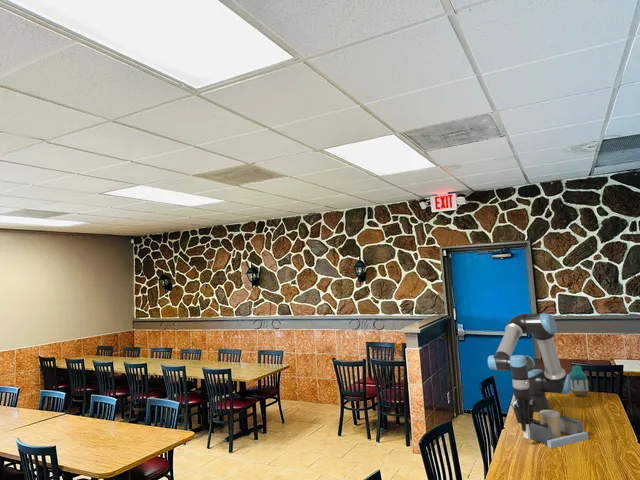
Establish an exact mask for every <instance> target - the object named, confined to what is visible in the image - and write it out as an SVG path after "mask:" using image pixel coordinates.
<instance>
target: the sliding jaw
mask: <svg viewBox="0 0 640 480" xmlns="http://www.w3.org/2000/svg"><path fill="white" fill-rule="evenodd" d="M530 423H532V424H530V439H532V440H534V441H537V442H539V443H541V444H544V445H547V440H551V439H553V437H552V429H551V427H550V426H548V424H547V423H544V422H541V420H538V419H535V418H533V422H530Z"/></svg>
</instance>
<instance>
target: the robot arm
mask: <svg viewBox="0 0 640 480" xmlns="http://www.w3.org/2000/svg"><path fill="white" fill-rule="evenodd" d="M504 331H505V332H504V334H503V337H502V339H501V341H500V343H499V346H498V348H497V350H496V352H495V354H492V355H488V357H487V366H488V368H489V369H490V370H494V371H503V372H504V371H505V372H507V371H509V372H511V379H512V387H513V390H512V391H513V396H514V398H515V399H514V402H513V403H511V404H510V405H511V407H512V409H513V412H514V415H515V418H516V421H517V423H518V424H520V425H521V430H522V433H523V438H524V439H527V440H530V439H531V438H530V424H532V423H530V422H533V419H534V413H539V412H540V411H541V410H551V405H550V404H549V401H548V399H547V397H546V393H550V394H559V395H568V394H569V393H570V392H571V377H570V375H569V374H570V373H566V371H565V369H564V368H562V366H561V362H560V358H559V356H558V351H557V348H556V345H555V340H554V337H555V335H556V333H557V332H558V331H557V322H556V320H555V318H554V316H553V315H552V314H550V313H544V312H543V313H520V314H517V315H516V316H513V317H512V318H511V319H510V320H508V322H507V324H506V325H505V328H504ZM525 334H526V335H527V334H528V335H529V334H530V335H532V337H533V339H535V341H537V342H536V343H537V344H538V349H539V352H540V355H541V357H542V358H541V359H542V361H543V365H544V372H543V370H542V369H540V368H538V369H537V368H536V369H535V366H536V362H535V360H534V358H533V357H531V356H529V355H522V354H516V355H515V354H514V355H513V353H514V351H515V347H516V346H517V342H518V341H519V338H520V337H522V336H523V335H525Z"/></svg>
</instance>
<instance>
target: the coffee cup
mask: <svg viewBox="0 0 640 480" xmlns="http://www.w3.org/2000/svg"><path fill="white" fill-rule="evenodd" d="M538 413H539V417H540V421H541V422H544V423H547V424H548V426H550V427H551V429H552V437H553V439H555V438H560V437H562V433H561V429H560V416H561V414H560V412H559V411H557V410H554V409H550V410H541V411H540V412H538Z"/></svg>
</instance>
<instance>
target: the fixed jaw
mask: <svg viewBox="0 0 640 480" xmlns="http://www.w3.org/2000/svg"><path fill="white" fill-rule="evenodd" d="M560 429H561V434H564V435H565V436H568V435H573V434H577V433H581V432H584V427H583V421H582V420H579V419H577V418H573V417H568V416H566V415H560Z"/></svg>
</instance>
